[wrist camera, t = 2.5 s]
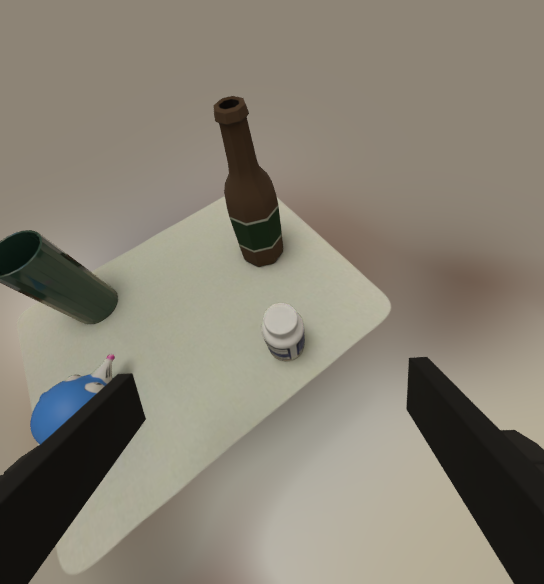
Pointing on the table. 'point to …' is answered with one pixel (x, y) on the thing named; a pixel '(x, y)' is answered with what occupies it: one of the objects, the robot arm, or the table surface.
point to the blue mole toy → (67, 400)
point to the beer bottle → (248, 187)
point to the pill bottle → (283, 331)
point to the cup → (54, 278)
